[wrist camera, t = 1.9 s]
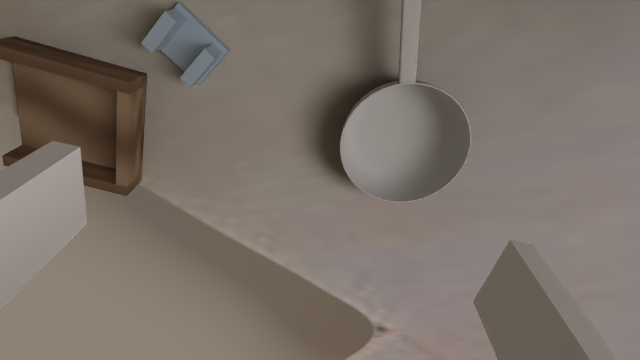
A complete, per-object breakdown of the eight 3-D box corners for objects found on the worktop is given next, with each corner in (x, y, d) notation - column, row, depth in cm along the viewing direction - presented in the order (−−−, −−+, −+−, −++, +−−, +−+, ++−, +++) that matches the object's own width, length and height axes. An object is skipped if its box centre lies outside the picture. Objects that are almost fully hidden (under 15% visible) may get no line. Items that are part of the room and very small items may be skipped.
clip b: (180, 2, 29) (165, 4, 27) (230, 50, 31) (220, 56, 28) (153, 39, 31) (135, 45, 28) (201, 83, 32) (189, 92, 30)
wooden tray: (14, 36, 31) (-15, 42, 29) (147, 73, 32) (129, 82, 30) (27, 151, 36) (3, 165, 34) (141, 180, 37) (126, 195, 35)
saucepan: (341, 185, 37) (342, 206, 34) (333, -20, 28) (332, -20, 25) (452, 181, 36) (464, 202, 33) (478, -31, 28) (497, -32, 24)
